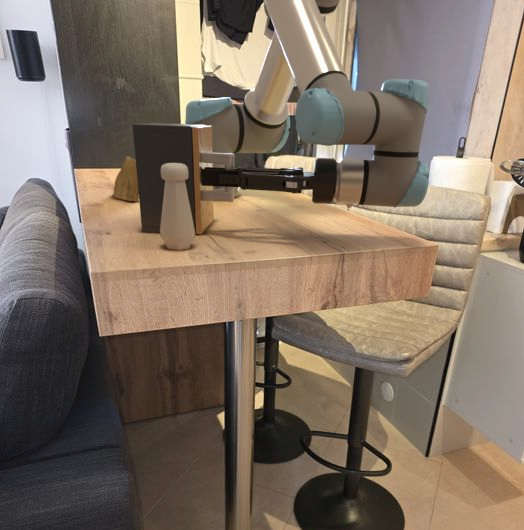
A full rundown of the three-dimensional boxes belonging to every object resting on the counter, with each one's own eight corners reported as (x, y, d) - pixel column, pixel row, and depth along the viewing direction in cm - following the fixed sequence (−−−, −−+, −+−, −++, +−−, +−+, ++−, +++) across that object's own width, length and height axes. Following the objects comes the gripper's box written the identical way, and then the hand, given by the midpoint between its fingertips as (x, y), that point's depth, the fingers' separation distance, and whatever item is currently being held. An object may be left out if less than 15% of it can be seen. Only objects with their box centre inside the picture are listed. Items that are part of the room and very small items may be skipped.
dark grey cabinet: (207, 220, 95) (205, 124, 87) (195, 234, 84) (190, 126, 76) (161, 217, 96) (154, 122, 88) (142, 232, 84) (132, 124, 76)
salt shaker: (165, 252, 73) (158, 165, 67) (157, 243, 77) (151, 161, 71) (200, 249, 75) (197, 165, 69) (190, 241, 80) (187, 161, 74)
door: (241, 220, 95) (241, 126, 87) (232, 235, 83) (232, 128, 75) (209, 219, 95) (206, 125, 87) (196, 233, 84) (192, 127, 76)
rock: (148, 193, 110) (154, 181, 118) (122, 162, 105) (130, 153, 113) (116, 219, 113) (123, 206, 121) (89, 190, 108) (99, 179, 116)
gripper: (336, 212, 75) (195, 205, 76) (330, 196, 88) (211, 191, 90) (341, 163, 71) (193, 157, 72) (334, 155, 85) (210, 150, 86)
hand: (203, 176), depth 81 cm, fingers open, 2 cm apart
